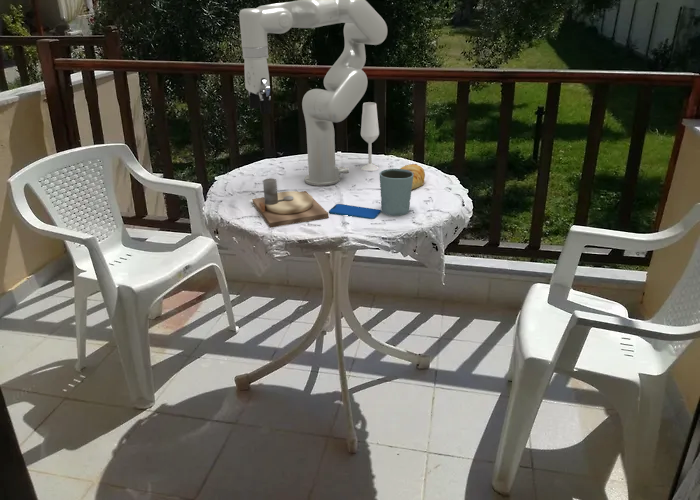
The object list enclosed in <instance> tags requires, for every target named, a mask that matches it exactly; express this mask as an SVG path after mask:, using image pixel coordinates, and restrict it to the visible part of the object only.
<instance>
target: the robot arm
mask: <svg viewBox="0 0 700 500" xmlns="http://www.w3.org/2000/svg"><path fill="white" fill-rule="evenodd" d="M238 14H239V26H240V27H239V28H240V37H241V48H242V58H243V60H244V64H243V65H244V66H243V67H244V86H245V89H246V91H248V92H247V94H248V99H249V100H248V101H249V108H250V109H259V110H260V111H259V112H260V114H261V115H268V114H271V113H272V108H271V107H272V105H271V86H270V85H271V83H270V82H271V81H270V72H269V65H268V59H269V48H268V46H269V45H268V34H279V35H280V34H285V33H288V31H290V30H291V29H292V28H296V29H297V28H298V29H315V28H320V27H323V26H331V25H336V24H341V23H343V24H344V26H343V37H344V48H343V51H342V53H341V54H340V56H339V57H338V58H337V60H336V61H335V62H334V64H332V66H331V67H330V68H329V69H328V71H327V72H326V75H324V78H323V86H324V88H325V89H321V88H313V89H310V90H308V91H306V93H305V94H304V95H303V98H302V102H301V106H302V113H303V116H304V121H305V128H306V129H305V130H306V144H307V145H306V146H307V147H306V148H307V165H308V174H307V175H305V177H304V183H306V184H307V185H310V186H316V187H320V186H321V187H323V186H324V187H326V186H332V185H335V184H337V183H339V182H340V180H341V176H340V175H341V174H349V173H350V169H349V167H343V166H339V167H338V166H336V150H335V149H336V144H335V128H334V123H340V122H342V121H344V120H345V119H346V118H348V116H349V115H350V113H351V112H353V110H354V109H355V107H356V106H357V104H358V103H359V102H360V101H361V99H362V98H363V97H364V95H365V93H366V91H367V88H368V77H367V74H366V72H364V70H363V67H364V66H365V64H366V60H367V59H366V58H367V55H366V47H365V45H371V46H372V45H374V46H377V45H381V44H382V43H383V42H384V41H385V40H386V39H387V36H388V26H387V23H386V21H385V20H384V19H383V17H382V16H381V15H380V14H379V13H378V12H377V11H376V10H375V8H374V7H373V6H372V5H371V4H370V3H369V2H368V1H367V0H293V1H286V2H277V3H271V4H265V5H259V6H258V7H256V8H255V7H253V8H251V7H249V8H242V9H240V10H239V13H238Z"/></svg>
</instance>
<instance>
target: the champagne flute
mask: <svg viewBox="0 0 700 500" xmlns="http://www.w3.org/2000/svg"><path fill="white" fill-rule="evenodd" d="M378 118H379V117H378V108H377V103H376V102H374V101H373V102H371V101H368V102H363V104H362V113H361V125H360V127H361V128H360V136H361V138H362V139H363V140H364V141H365V142H366V143H367V144H368V147H367V149H368V150H367V151H368V156H367V157H368V163H367V164H365V165H364V166H362V167H361V168H360V169H361V170H362V171H365V172H375V171H378V170H379V169H380V168H379V166H377V165H375V164H374V163H372V159H373V158H372V154H373V152H372V147H373V146H372V143H374V142H375V141H376V140H377V139H378V137H379V136H380V128H379V120H378Z"/></svg>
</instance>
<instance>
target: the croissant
mask: <svg viewBox="0 0 700 500" xmlns="http://www.w3.org/2000/svg"><path fill="white" fill-rule="evenodd" d="M399 169H405V170H409V171H411V172H413V174H414V176H413V182H412V189H411V191H412V190H415V189H418V188H420V187H422V186H423V185H424V183H425V178H426V173H425V170H424V167H422V166H421V165H418V164H416V163H415V164H414V163H410V164H406V165H403V166H401V167H400V168H399Z"/></svg>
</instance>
